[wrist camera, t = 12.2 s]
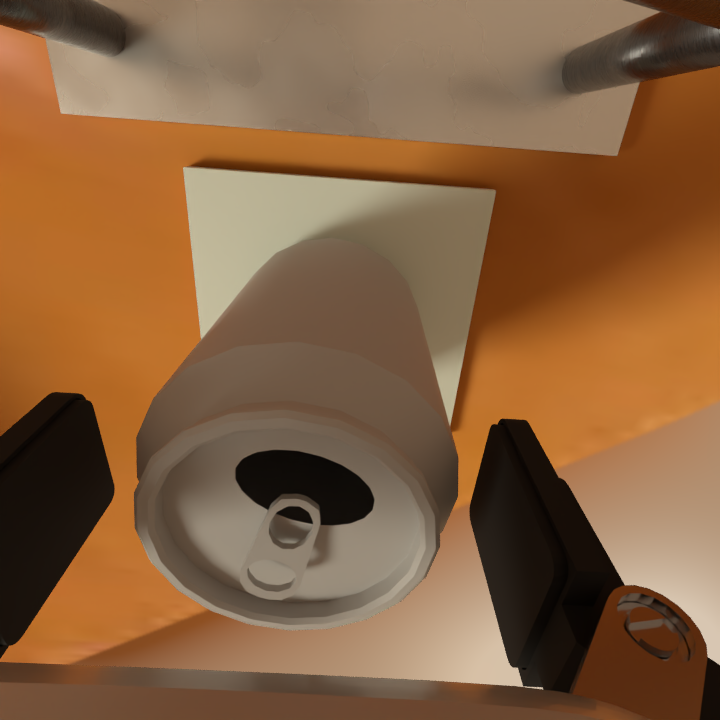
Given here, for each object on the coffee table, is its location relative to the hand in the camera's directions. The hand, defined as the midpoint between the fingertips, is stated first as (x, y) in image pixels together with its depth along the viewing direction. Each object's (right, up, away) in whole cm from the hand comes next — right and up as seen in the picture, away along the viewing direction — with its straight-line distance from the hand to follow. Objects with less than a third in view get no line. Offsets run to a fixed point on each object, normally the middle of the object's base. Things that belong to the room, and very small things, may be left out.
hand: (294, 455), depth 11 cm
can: (0, +4, +9) cm, 10 cm away
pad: (0, +4, +10) cm, 10 cm away
